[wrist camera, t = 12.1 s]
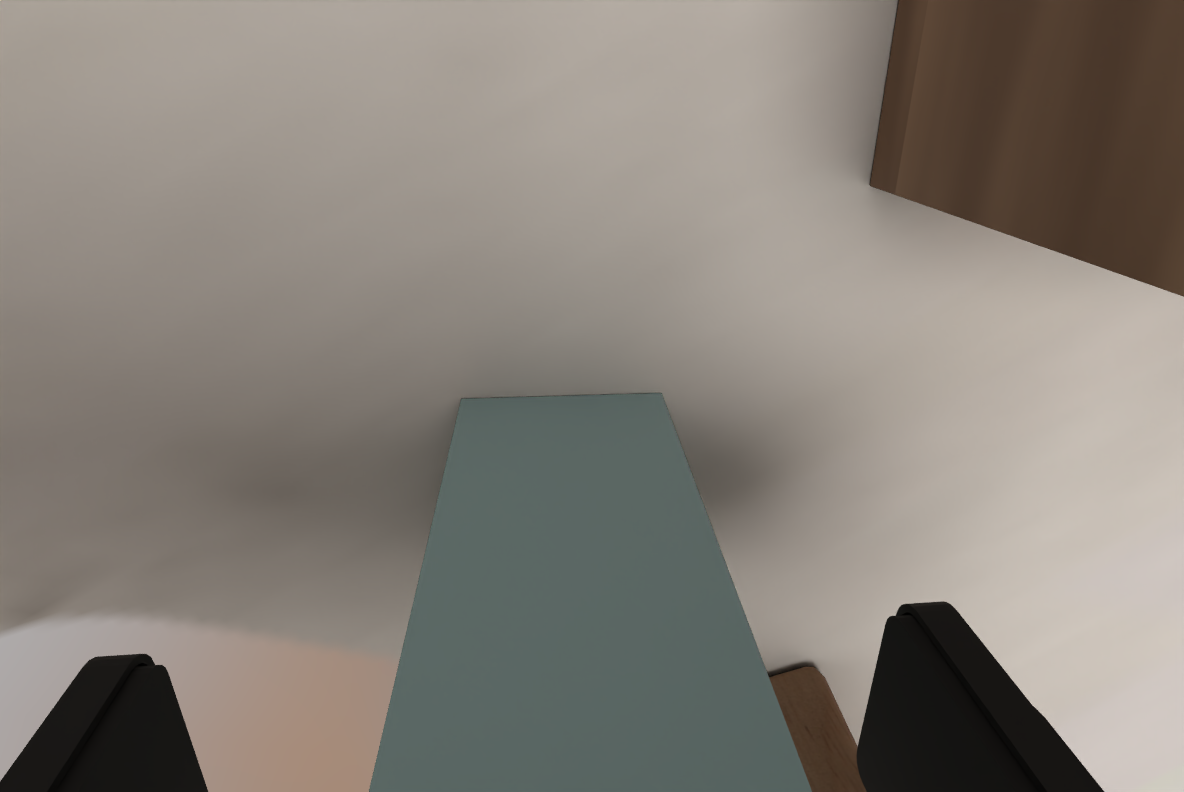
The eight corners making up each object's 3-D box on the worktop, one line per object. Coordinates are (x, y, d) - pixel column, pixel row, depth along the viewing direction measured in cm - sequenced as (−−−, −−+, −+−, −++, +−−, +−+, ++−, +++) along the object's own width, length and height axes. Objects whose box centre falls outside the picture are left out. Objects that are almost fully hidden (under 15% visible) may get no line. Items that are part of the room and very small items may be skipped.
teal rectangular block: (460, 399, 14) (205, 1489, 3) (661, 393, 14) (1038, 1390, 4) (475, 562, 16) (334, 1648, 5) (654, 555, 16) (895, 1573, 5)
